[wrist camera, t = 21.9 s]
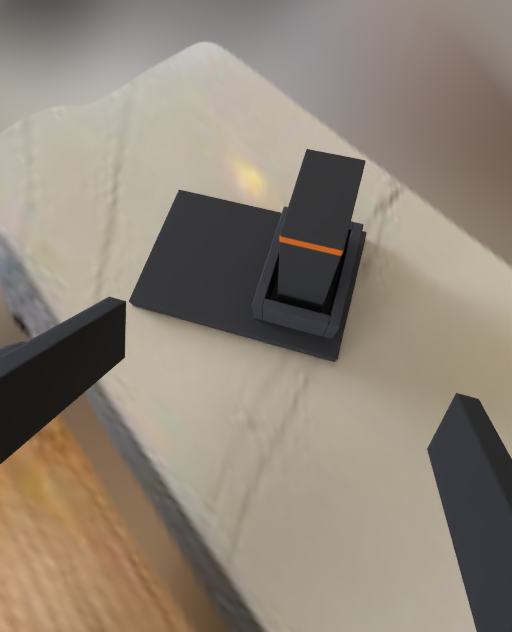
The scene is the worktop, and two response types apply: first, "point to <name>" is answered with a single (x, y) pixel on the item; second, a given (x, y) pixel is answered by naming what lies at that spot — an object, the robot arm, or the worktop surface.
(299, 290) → the black orange-striped block
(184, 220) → the base pad
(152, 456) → the worktop surface
